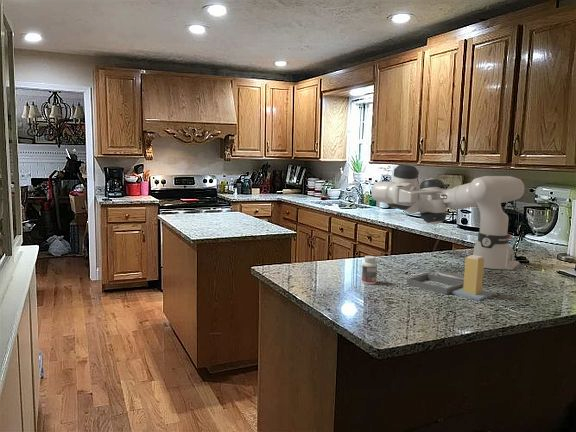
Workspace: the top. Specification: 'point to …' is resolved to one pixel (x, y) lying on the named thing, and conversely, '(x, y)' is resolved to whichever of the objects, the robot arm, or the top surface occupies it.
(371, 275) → the pill bottle
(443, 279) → the case
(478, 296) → the mat
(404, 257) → the top surface
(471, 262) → the block
